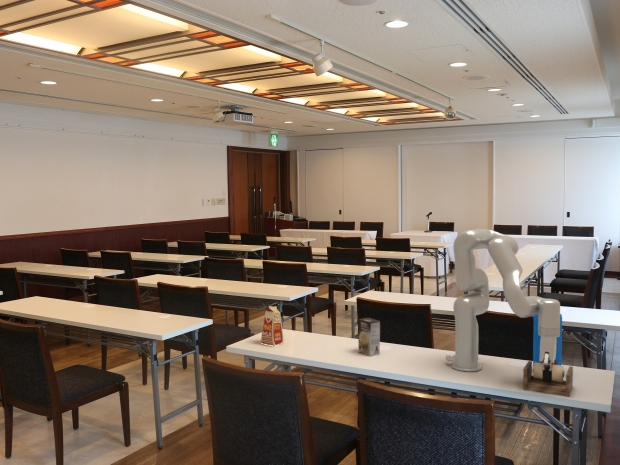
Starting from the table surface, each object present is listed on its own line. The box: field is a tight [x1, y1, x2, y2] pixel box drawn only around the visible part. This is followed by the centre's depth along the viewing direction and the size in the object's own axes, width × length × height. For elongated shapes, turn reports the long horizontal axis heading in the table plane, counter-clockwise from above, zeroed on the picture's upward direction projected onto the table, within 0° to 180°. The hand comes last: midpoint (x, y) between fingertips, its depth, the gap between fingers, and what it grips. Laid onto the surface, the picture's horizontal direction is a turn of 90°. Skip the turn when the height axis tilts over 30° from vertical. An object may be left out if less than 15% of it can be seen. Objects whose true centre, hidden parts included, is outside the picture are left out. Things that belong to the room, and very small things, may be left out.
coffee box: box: [357, 317, 381, 357], centre depth 261 cm, size 9×6×16 cm
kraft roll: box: [532, 362, 565, 382], centre depth 211 cm, size 11×6×6 cm, turn 59°
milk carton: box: [260, 305, 284, 346], centre depth 280 cm, size 9×9×20 cm
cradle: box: [522, 360, 574, 398], centre depth 211 cm, size 16×12×8 cm
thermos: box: [532, 313, 563, 368], centre depth 230 cm, size 11×11×25 cm
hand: (548, 377), depth 211 cm, fingers closed on kraft roll, 6 cm apart
